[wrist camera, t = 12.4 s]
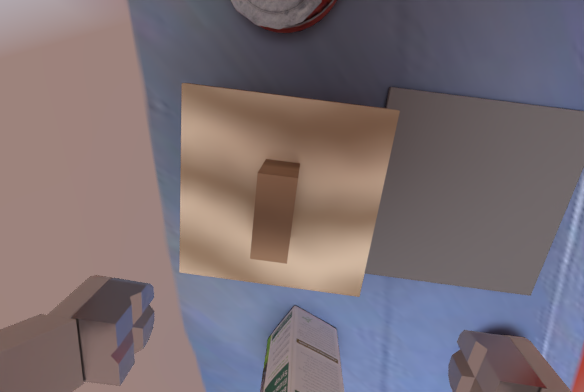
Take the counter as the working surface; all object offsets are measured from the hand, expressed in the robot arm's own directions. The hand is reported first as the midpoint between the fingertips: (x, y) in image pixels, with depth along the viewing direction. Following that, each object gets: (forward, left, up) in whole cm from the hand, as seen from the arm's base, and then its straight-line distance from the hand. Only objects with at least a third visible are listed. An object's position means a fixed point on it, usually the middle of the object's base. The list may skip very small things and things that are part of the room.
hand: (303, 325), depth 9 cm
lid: (+3, -2, -18) cm, 18 cm away
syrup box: (+21, +2, -24) cm, 32 cm away
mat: (+3, +15, -24) cm, 28 cm away
